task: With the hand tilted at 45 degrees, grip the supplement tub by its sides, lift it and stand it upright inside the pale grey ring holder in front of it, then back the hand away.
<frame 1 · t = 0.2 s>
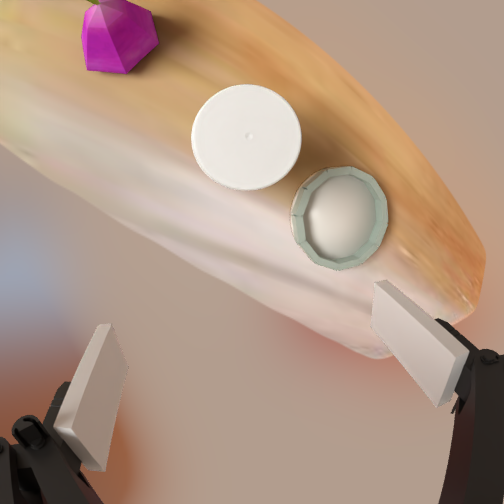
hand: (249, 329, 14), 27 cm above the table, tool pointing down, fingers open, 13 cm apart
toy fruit: (121, 43, 31), on the table
ring holder: (336, 215, 43), on the table
supplement tub: (230, 145, 38), on the table
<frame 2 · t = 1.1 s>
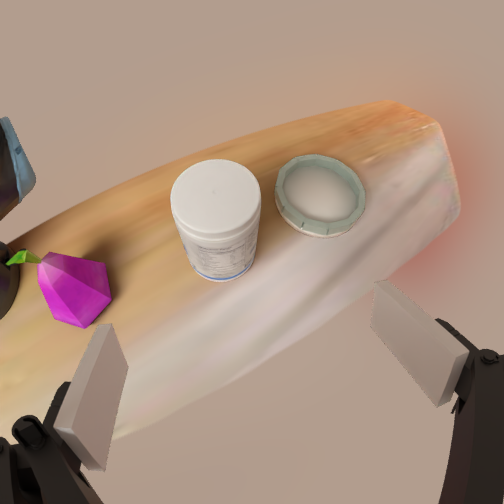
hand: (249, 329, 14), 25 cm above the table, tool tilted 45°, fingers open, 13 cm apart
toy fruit: (84, 295, 40), on the table
ring holder: (318, 199, 48), on the table
supplement tub: (221, 253, 44), on the table
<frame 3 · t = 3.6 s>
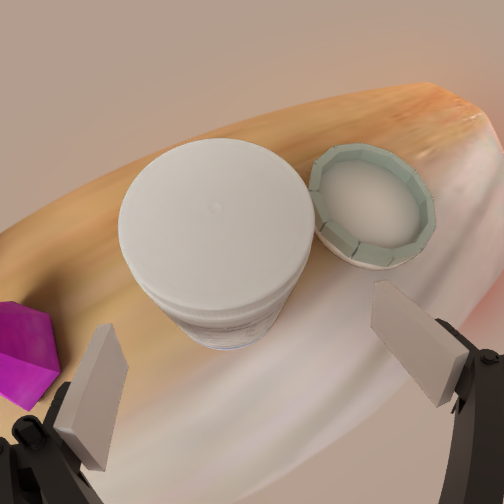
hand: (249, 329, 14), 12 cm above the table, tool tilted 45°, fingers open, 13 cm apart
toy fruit: (28, 357, 24), on the table
ring holder: (367, 209, 32), on the table
supplement tub: (226, 299, 27), on the table
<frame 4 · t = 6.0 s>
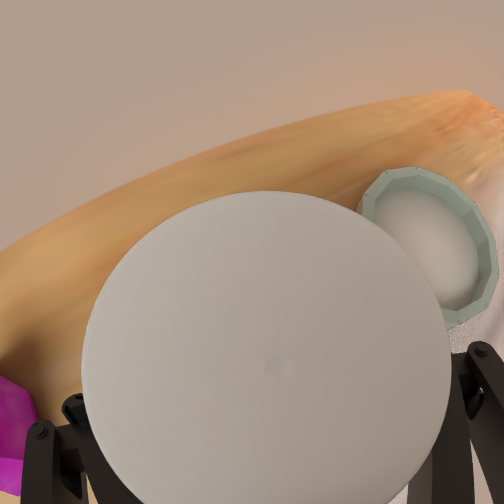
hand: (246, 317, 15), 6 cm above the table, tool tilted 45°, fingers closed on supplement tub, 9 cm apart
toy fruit: (10, 431, 16), on the table
ring holder: (422, 252, 24), on the table
supplement tub: (252, 381, 20), on the table, touching gripper
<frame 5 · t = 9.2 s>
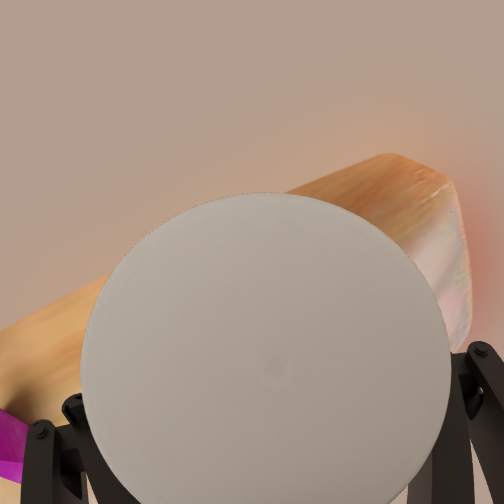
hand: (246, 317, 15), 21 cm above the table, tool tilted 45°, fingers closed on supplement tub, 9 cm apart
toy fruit: (17, 446, 26), on the table
supplement tub: (252, 382, 20), point 14 cm above the table, touching gripper
when the fingers open (8 cm above the table, at t = 12.4 s): supplement tub drops 1 cm, resting on ring holder.
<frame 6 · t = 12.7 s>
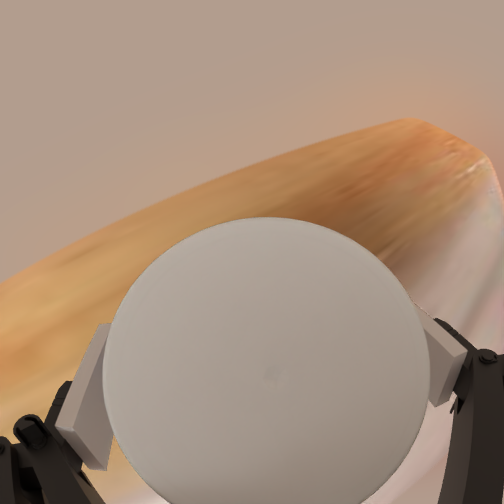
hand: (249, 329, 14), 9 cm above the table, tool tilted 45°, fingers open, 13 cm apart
supplement tub: (252, 382, 21), point 1 cm above the table, touching ring holder
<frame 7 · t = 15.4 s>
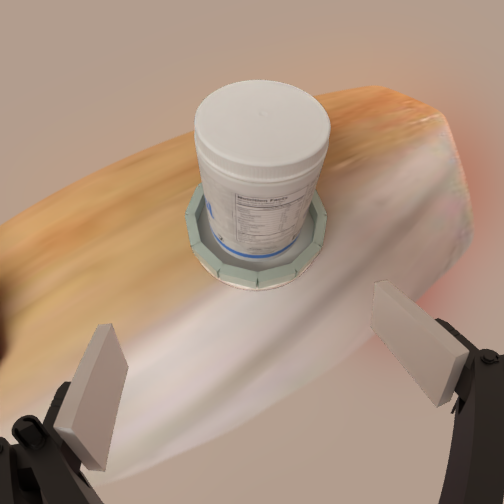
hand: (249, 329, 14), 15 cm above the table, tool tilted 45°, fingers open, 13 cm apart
ring holder: (255, 228, 34), on the table
supplement tub: (255, 224, 33), point 1 cm above the table, touching ring holder
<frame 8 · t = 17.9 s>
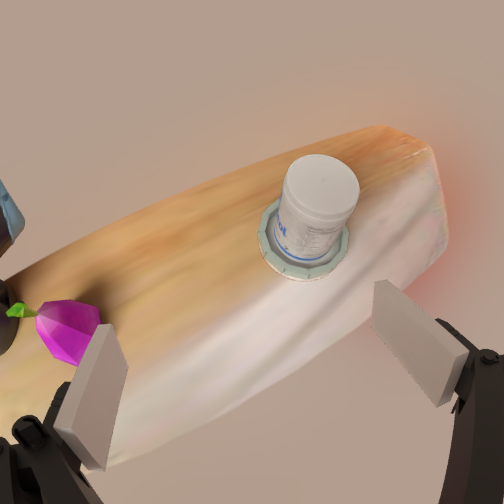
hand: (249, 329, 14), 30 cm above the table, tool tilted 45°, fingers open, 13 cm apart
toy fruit: (80, 335, 42), on the table
ring holder: (301, 240, 50), on the table
supplement tub: (302, 238, 49), point 1 cm above the table, touching ring holder
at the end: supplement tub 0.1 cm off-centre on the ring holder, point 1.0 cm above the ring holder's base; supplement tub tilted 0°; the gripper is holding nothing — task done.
